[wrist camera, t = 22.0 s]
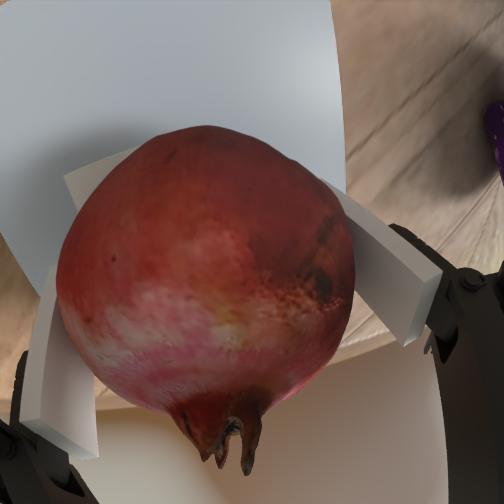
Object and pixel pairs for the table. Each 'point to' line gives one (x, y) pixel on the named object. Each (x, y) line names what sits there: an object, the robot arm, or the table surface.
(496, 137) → the decorative mushroom
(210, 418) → the fruit
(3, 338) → the table surface
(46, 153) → the letter
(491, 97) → the table surface
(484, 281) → the robot arm
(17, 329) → the table surface
